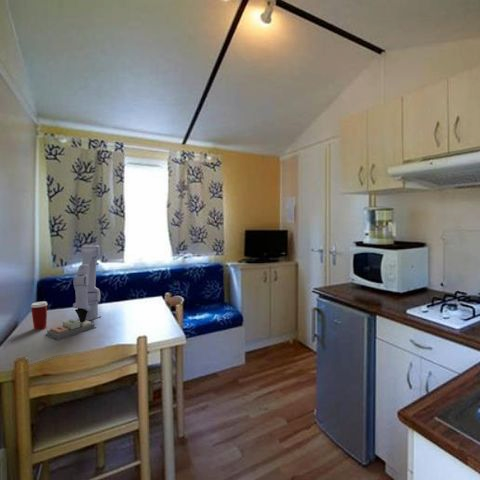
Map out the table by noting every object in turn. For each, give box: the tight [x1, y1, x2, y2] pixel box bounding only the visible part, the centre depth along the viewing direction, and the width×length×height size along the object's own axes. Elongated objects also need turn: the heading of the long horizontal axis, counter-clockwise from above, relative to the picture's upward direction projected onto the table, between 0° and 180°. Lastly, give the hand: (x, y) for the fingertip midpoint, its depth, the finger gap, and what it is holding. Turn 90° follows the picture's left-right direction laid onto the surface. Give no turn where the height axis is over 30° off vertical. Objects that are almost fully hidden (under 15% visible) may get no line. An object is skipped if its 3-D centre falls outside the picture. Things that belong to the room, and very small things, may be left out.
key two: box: [62, 319, 80, 329], centre depth 153 cm, size 9×4×3 cm, turn 58°
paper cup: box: [30, 301, 48, 331], centre depth 158 cm, size 8×8×14 cm
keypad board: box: [44, 322, 97, 341], centre depth 154 cm, size 13×20×2 cm, turn 148°
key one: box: [76, 319, 92, 327], centre depth 159 cm, size 9×4×3 cm, turn 58°
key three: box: [49, 325, 69, 334], centre depth 149 cm, size 9×4×3 cm, turn 58°
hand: (82, 321), depth 159 cm, fingers closed, pressing on key one
